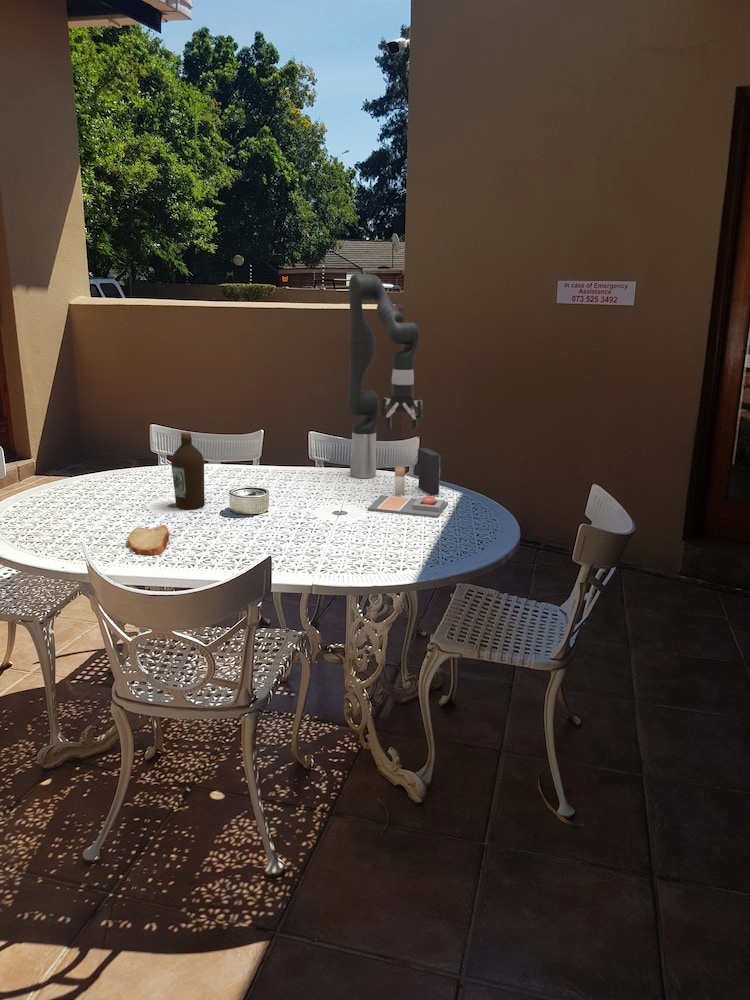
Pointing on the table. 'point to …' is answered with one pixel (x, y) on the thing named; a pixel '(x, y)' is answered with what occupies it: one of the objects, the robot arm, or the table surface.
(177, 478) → the olive oil
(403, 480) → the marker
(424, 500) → the button
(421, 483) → the dark grey upright block
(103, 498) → the table surface
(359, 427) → the robot arm
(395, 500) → the board
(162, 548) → the bread slice
